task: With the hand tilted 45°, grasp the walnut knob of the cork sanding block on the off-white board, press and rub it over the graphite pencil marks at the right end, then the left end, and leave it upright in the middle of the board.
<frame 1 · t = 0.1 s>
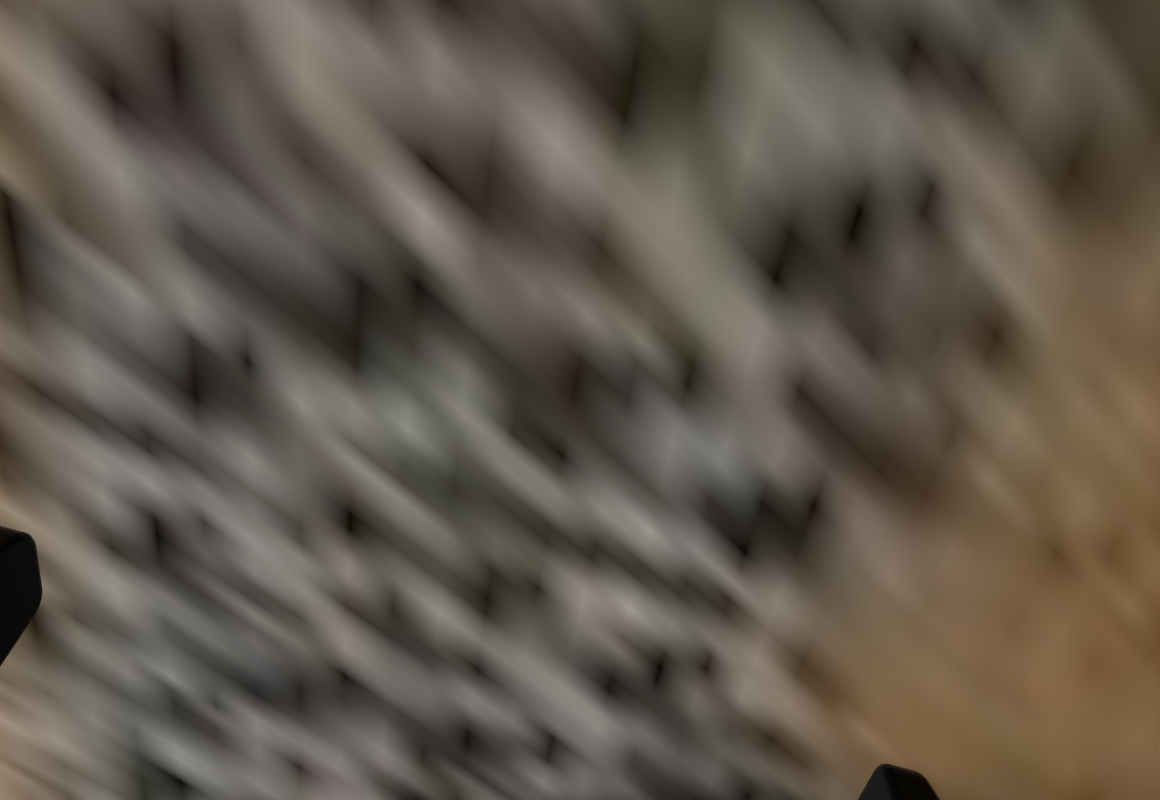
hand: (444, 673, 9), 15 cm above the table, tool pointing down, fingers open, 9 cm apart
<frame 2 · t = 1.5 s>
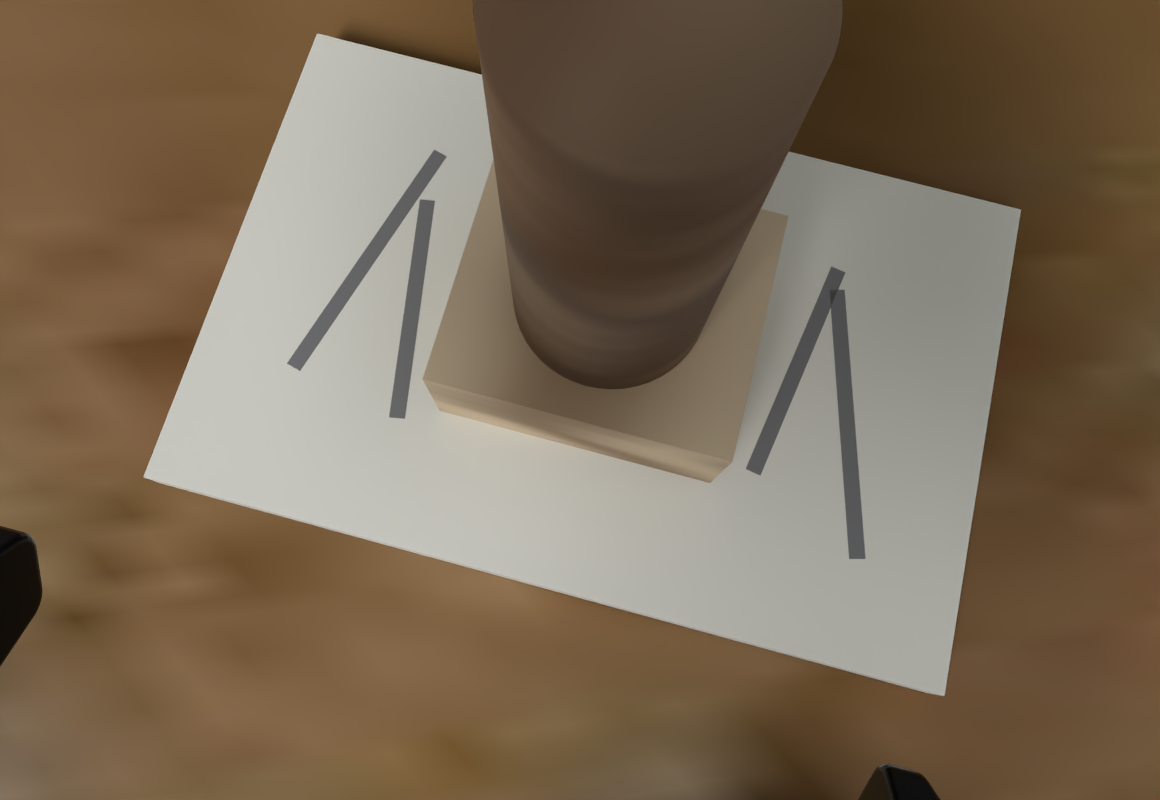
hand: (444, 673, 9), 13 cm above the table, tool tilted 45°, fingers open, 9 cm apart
sanding block: (604, 336, 23), point 1 cm above the table, touching board
board: (602, 348, 24), on the table
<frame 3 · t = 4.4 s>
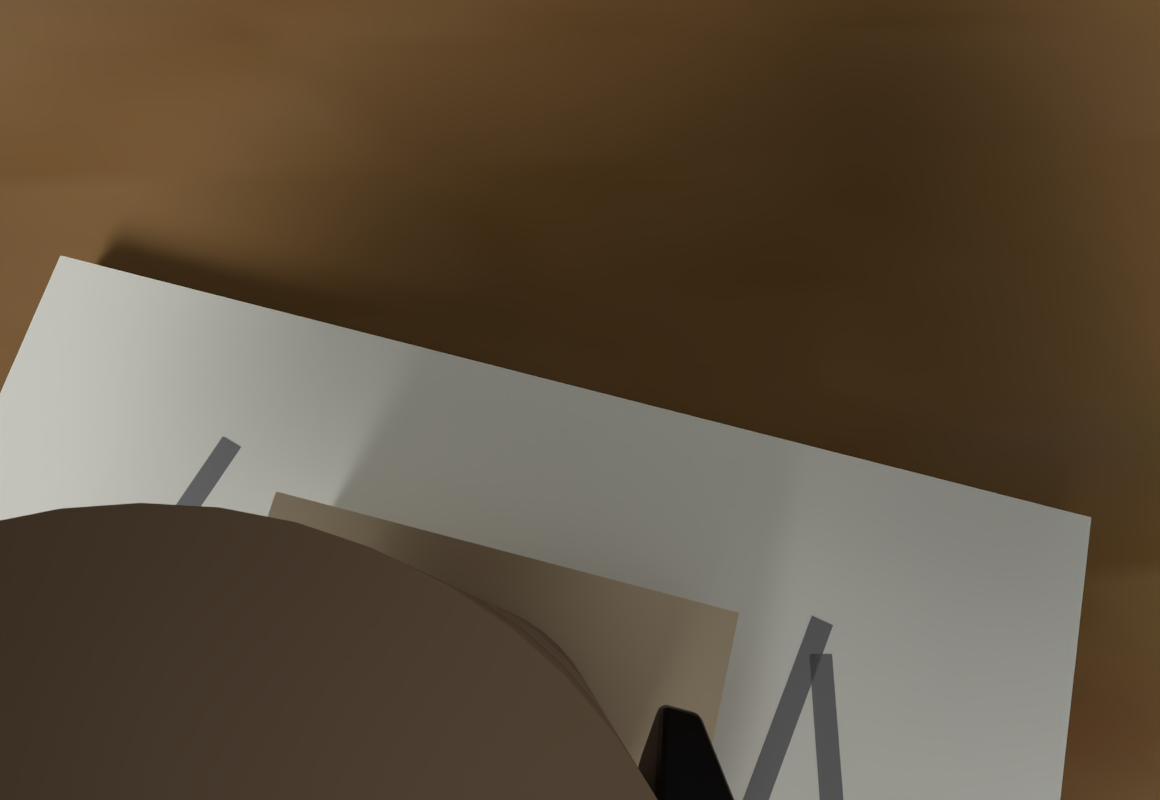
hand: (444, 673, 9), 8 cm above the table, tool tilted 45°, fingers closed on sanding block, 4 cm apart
sanding block: (467, 739, 15), point 1 cm above the table, touching board, gripper
board: (472, 733, 16), on the table
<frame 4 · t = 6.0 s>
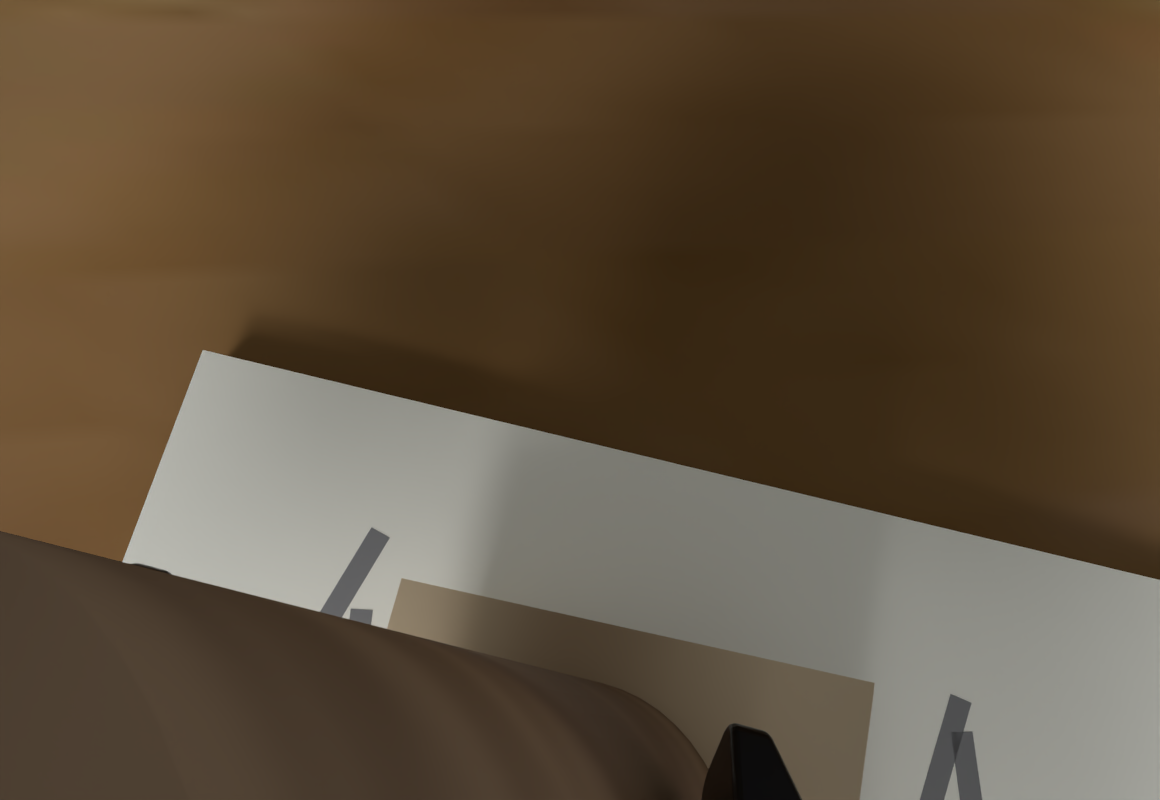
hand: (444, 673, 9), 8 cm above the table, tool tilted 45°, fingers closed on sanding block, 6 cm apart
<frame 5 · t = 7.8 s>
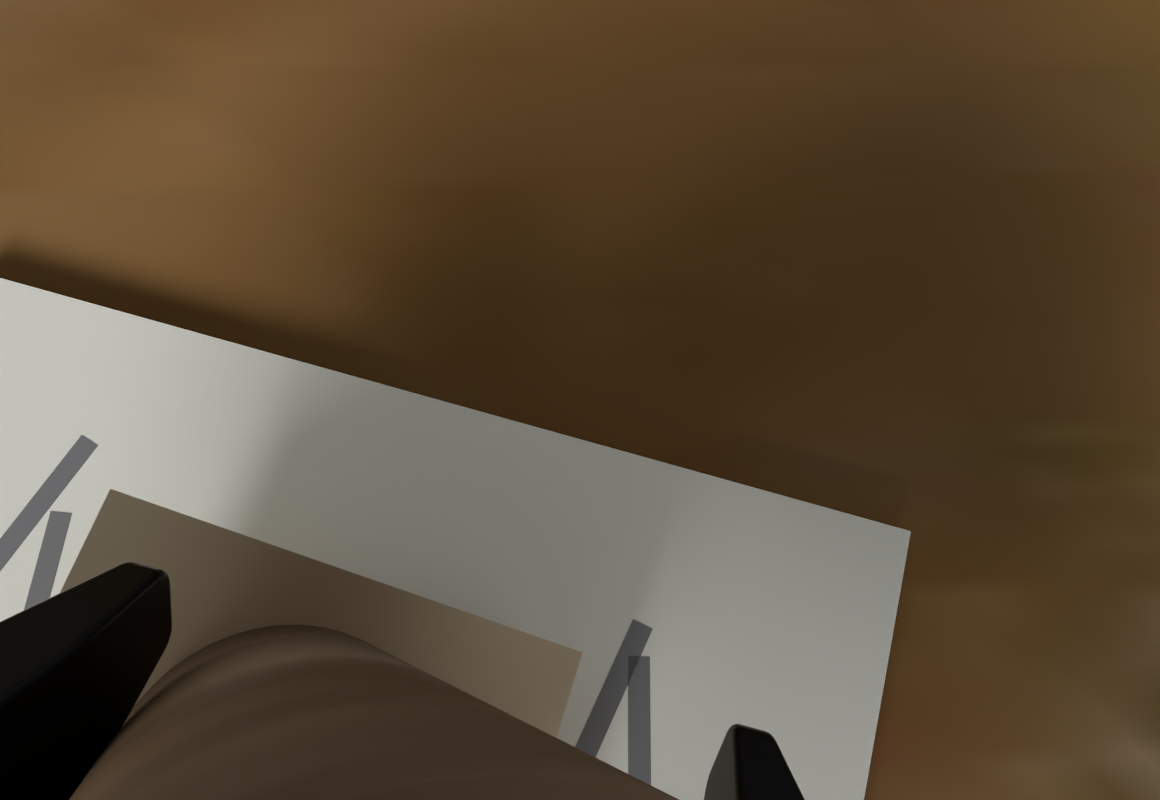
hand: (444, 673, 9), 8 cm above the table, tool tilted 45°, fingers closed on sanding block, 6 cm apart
sanding block: (269, 754, 15), point 2 cm above the table, tilted 21°, touching board, gripper
board: (306, 726, 17), on the table
when the fingers open (8 cm above the table, at t = 9.4 s): sanding block stays where it is, resting on board.
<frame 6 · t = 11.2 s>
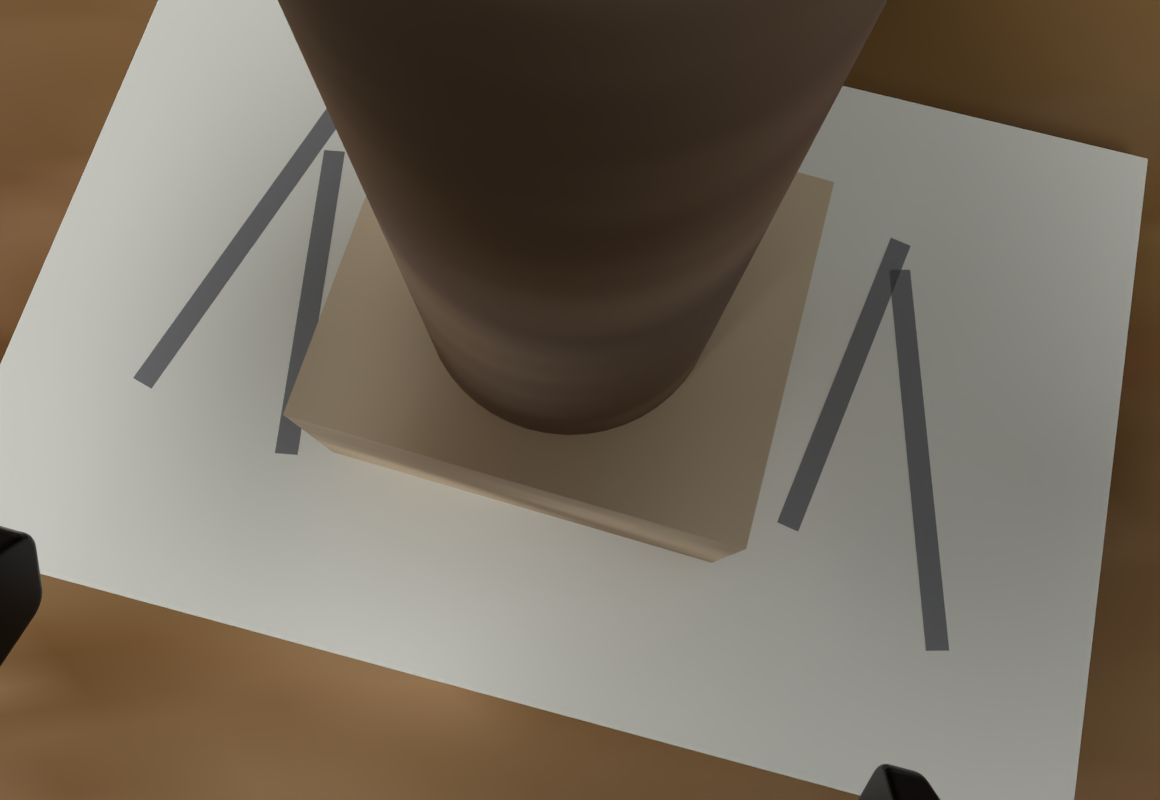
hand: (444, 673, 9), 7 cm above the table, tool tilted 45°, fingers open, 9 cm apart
sanding block: (567, 351, 17), point 1 cm above the table, touching board
board: (576, 352, 18), on the table
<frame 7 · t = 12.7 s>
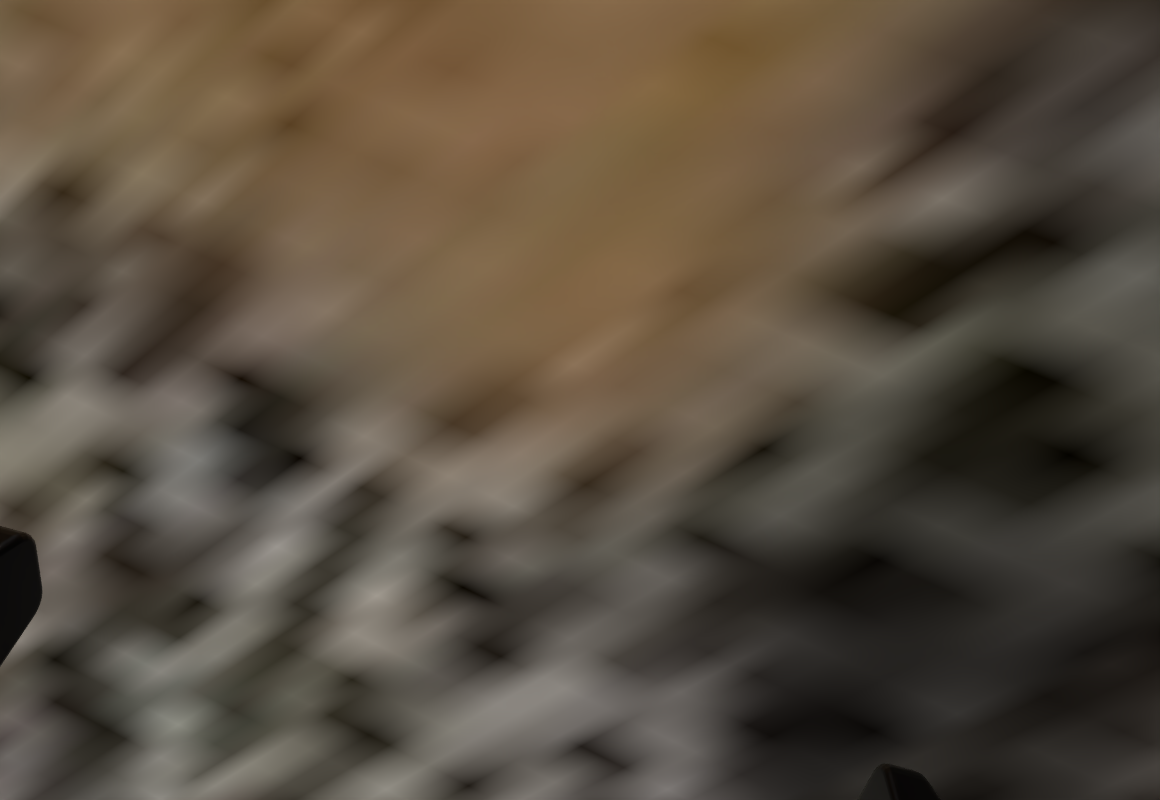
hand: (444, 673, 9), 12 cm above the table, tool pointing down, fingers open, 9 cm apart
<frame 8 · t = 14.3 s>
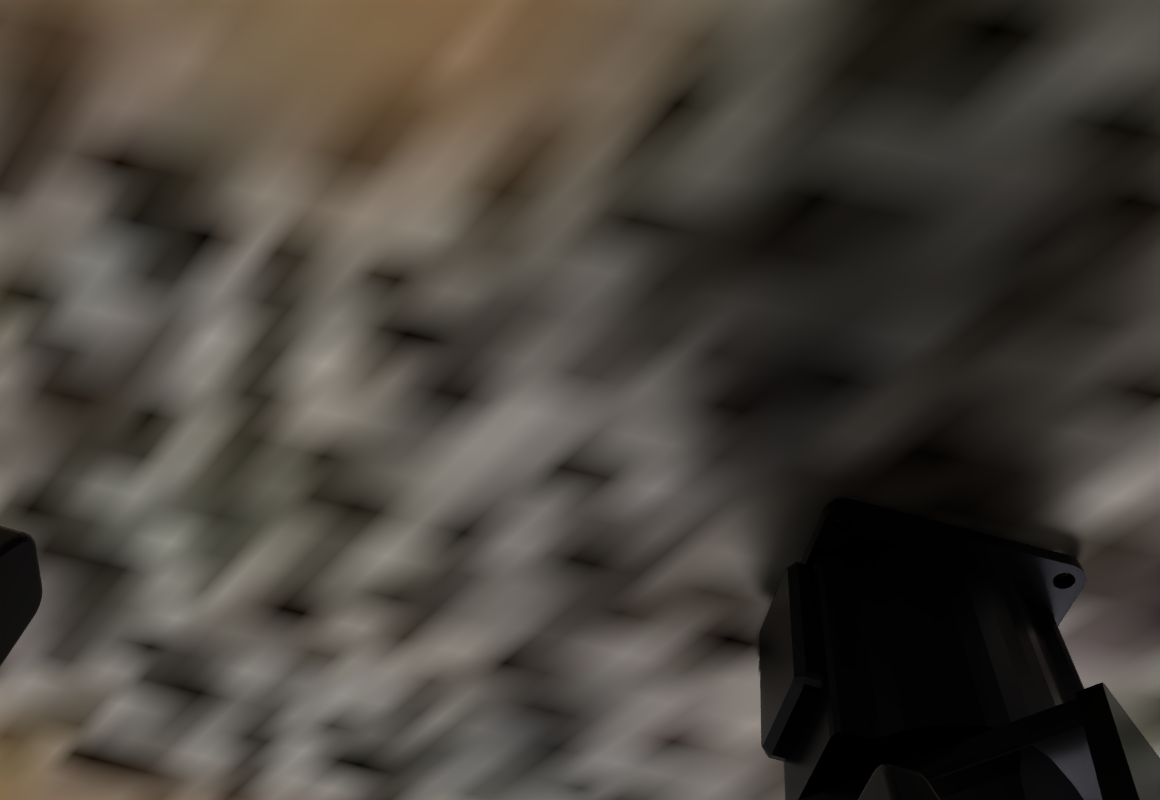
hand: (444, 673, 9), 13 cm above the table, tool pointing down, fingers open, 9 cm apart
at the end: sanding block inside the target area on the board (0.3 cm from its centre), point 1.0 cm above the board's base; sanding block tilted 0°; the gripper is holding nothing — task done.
